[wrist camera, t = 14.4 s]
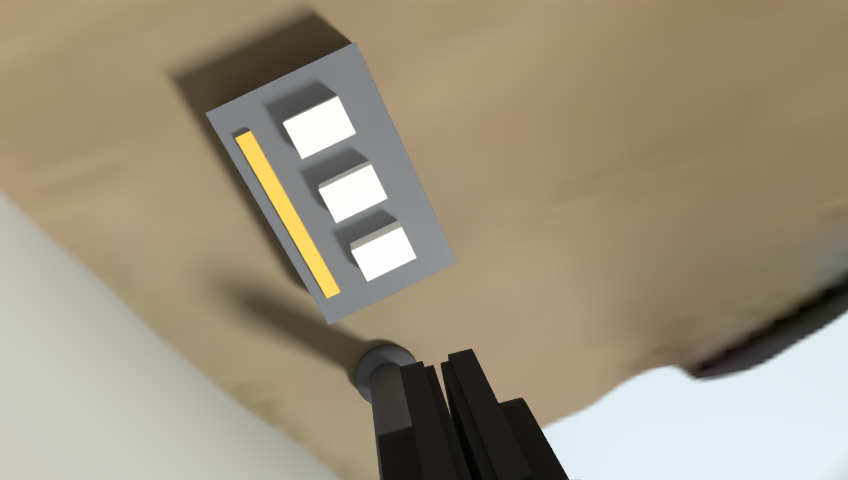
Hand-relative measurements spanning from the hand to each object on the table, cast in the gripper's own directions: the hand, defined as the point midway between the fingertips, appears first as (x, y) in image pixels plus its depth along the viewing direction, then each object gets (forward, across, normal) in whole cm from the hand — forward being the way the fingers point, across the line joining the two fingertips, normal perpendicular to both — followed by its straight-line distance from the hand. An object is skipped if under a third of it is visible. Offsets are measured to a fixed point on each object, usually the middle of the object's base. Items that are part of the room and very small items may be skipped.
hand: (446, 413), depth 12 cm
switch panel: (+30, +2, +1) cm, 30 cm away
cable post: (+29, +2, +17) cm, 33 cm away
